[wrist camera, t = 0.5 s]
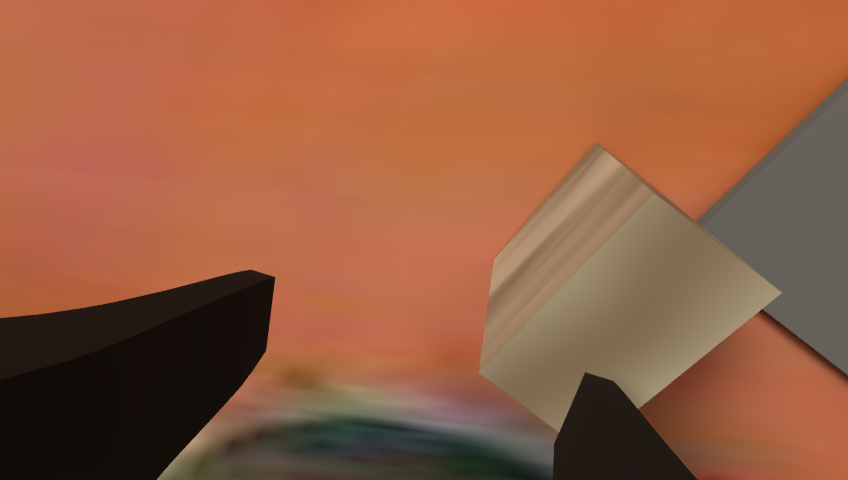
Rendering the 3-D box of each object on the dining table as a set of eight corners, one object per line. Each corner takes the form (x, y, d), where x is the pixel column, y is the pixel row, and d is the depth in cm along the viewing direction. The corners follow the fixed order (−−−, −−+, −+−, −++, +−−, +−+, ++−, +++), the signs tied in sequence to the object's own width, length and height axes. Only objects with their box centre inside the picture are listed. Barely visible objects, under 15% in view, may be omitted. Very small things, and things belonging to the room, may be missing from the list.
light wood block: (673, 202, 17) (787, 297, 10) (563, 312, 20) (590, 454, 12) (596, 142, 17) (654, 193, 10) (494, 259, 20) (478, 373, 12)
